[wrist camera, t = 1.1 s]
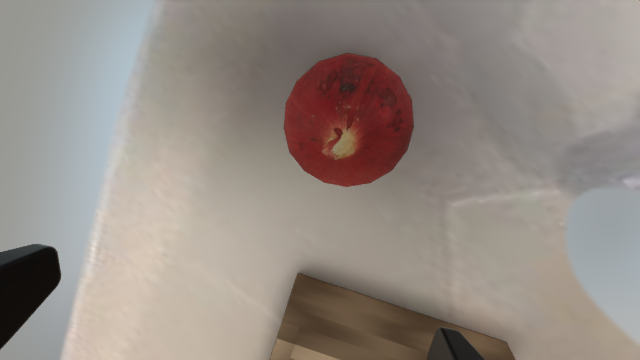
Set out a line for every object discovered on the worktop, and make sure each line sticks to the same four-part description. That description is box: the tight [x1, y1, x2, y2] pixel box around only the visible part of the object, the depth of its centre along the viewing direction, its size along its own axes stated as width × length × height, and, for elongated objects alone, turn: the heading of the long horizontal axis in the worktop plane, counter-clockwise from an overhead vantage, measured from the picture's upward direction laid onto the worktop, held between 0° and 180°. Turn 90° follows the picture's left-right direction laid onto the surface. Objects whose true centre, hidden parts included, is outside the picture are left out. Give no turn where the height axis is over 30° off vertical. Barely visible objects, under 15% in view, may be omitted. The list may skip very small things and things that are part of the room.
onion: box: [284, 53, 414, 187], centre depth 14 cm, size 6×6×8 cm
